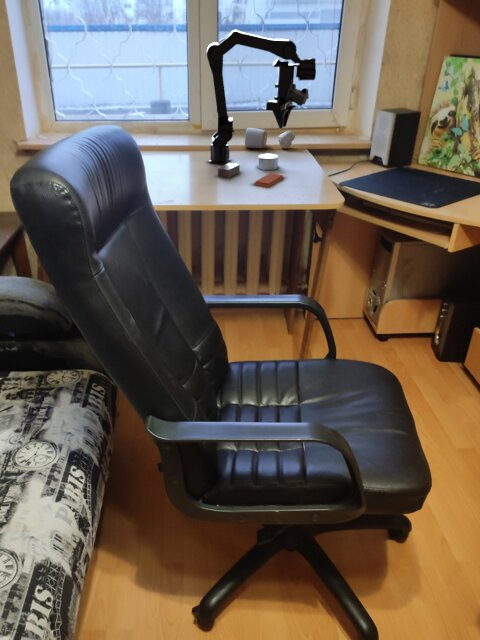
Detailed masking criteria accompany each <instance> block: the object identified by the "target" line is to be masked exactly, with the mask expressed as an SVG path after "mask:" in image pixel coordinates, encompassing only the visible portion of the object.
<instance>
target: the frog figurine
mask: <svg viewBox="0 0 480 640" xmlns="http://www.w3.org/2000/svg"><path fill="white" fill-rule="evenodd" d="M295 138H296V133H294V132H293V131H292V130H291V129H289V130H288V129H287V130H286V131H285V132H283V133H281V134H279V135H278V142H279V146H280V147H281V148H282V149H285V150H286V149H288V148H290V147H291V146H292V144H293V141H294V140H295Z"/></svg>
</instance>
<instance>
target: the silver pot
mask: <svg viewBox="0 0 480 640" xmlns="http://www.w3.org/2000/svg"><path fill="white" fill-rule="evenodd" d="M257 165H258V167H257V168H258V169H259V170H261V171H274V170H277V169H278V167H279V155H278V154H274V153H262V154H259V155H258V163H257Z"/></svg>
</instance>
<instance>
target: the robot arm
mask: <svg viewBox="0 0 480 640" xmlns="http://www.w3.org/2000/svg"><path fill="white" fill-rule="evenodd" d="M236 45H239V46H243V47H248V48H251V49H256V50H260V51H264V52H268V53H271V54H272V55H274V56H276V57H278V58H276V60H275V61H274V62H273V63H272V66H273V67H274V68H277V80H276V81H277V82H276V84H275V83H274V88H276V96H274V98H273V99H271V100H268V101H266V103H265V106H264V107H265V111H272V114H273V116H274V118H275V120H276V123H277V126H278V128H279V129H283V128H286V127H287V124H288V121H289V118H290V115H291V112H292V111H293V110H294V109H295V108H297V106H299V107H301V106H303V105H305V104H306V102H307V100H308V99H309V89H308V88H306V87H304V88H302V89H298V88H297V85H296V83H294V81H295V80H294V79H295V78H297V81H315V80H316V75H317V69H316V68H317V67H316V66H317V64H316V61H317V59H316V58H315V57H310V58H301V57H300V56H299V55H298V53H297V44H296V43H295V42H294V41H293V40H291V39H288V38H267V37H264V36H259V35H257V34H256V35H255V34H251V33H248V32H247V33H246V32H242V31H240V30H238V29H234V30H231V32H230V33H229V34H228V35H226V36H225V37H223V38H221V39H220V40H219V41H217V42H212V43H210V44H209V45H208V47H207V50H206V57H207V61H208V66H209V69H210V71H211V74H212V81H213V89H214V97H215V103H216V112H217V122H216V123H217V124H216V125H217V127H216V132H215V133H214V134H213V135H212V136H211V144H210V159H209V160H208V163H211V164H217V165H225V163H226V164H227V163H229V162H230V161H231V158H230V149H229V146H230V145H229V144H228V143H229V142H230V141H231V140H232V139H233V135H234V134H233V133H235V127H234V126H233V125H234V119H233V116H232V117H229V114H228V109H227V107H228V106H227V100H226V90H225V84H224V83H225V82H224V73H223V71H224V55H225V54H227V53H229V52H230V51H231V50H232V49H233V48H234V47H235V46H236ZM279 58H281V59H283V60H280V59H279ZM290 61H291V62H292V63H290ZM294 103H295V104H296V105H294Z"/></svg>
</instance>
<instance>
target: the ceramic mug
mask: <svg viewBox="0 0 480 640" xmlns="http://www.w3.org/2000/svg"><path fill="white" fill-rule="evenodd" d="M267 140H268V132H267V130H266V129H263V128H253V127H247V129H246V130H245V135H244V146H245V148H246V149H249V148H250V149H264V148H266V145H267Z"/></svg>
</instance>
